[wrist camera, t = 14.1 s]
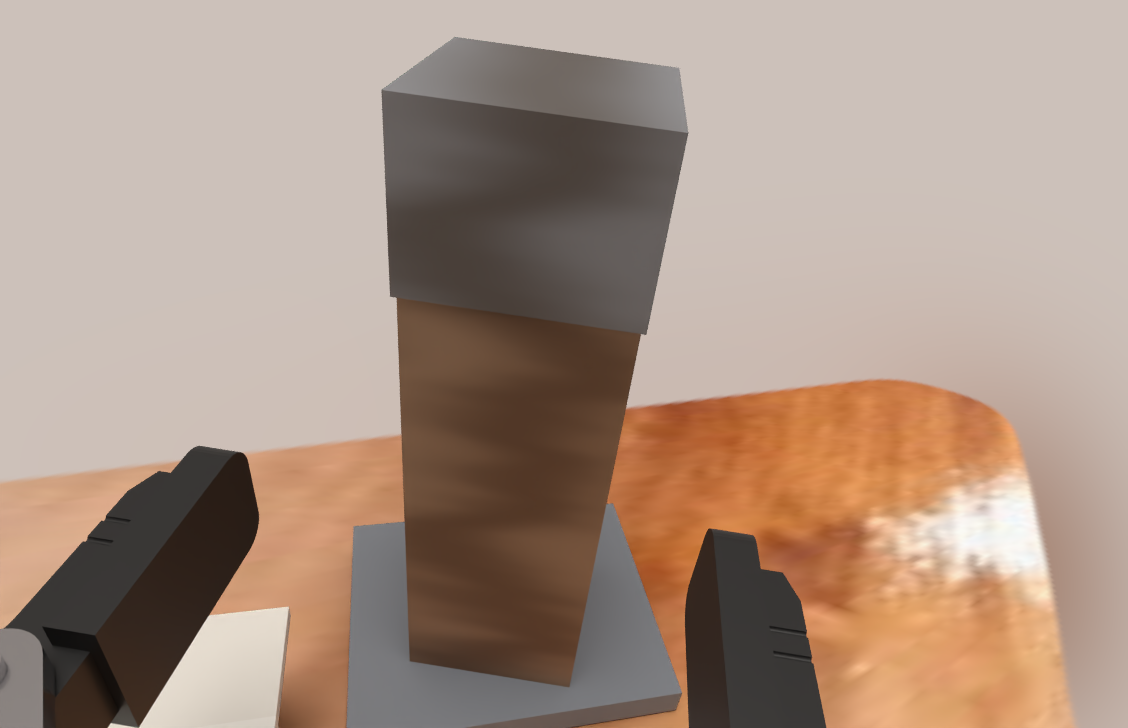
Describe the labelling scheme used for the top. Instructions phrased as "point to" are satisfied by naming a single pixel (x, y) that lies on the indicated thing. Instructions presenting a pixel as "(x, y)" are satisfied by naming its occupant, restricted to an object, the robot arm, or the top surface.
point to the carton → (227, 675)
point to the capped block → (518, 330)
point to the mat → (494, 703)
